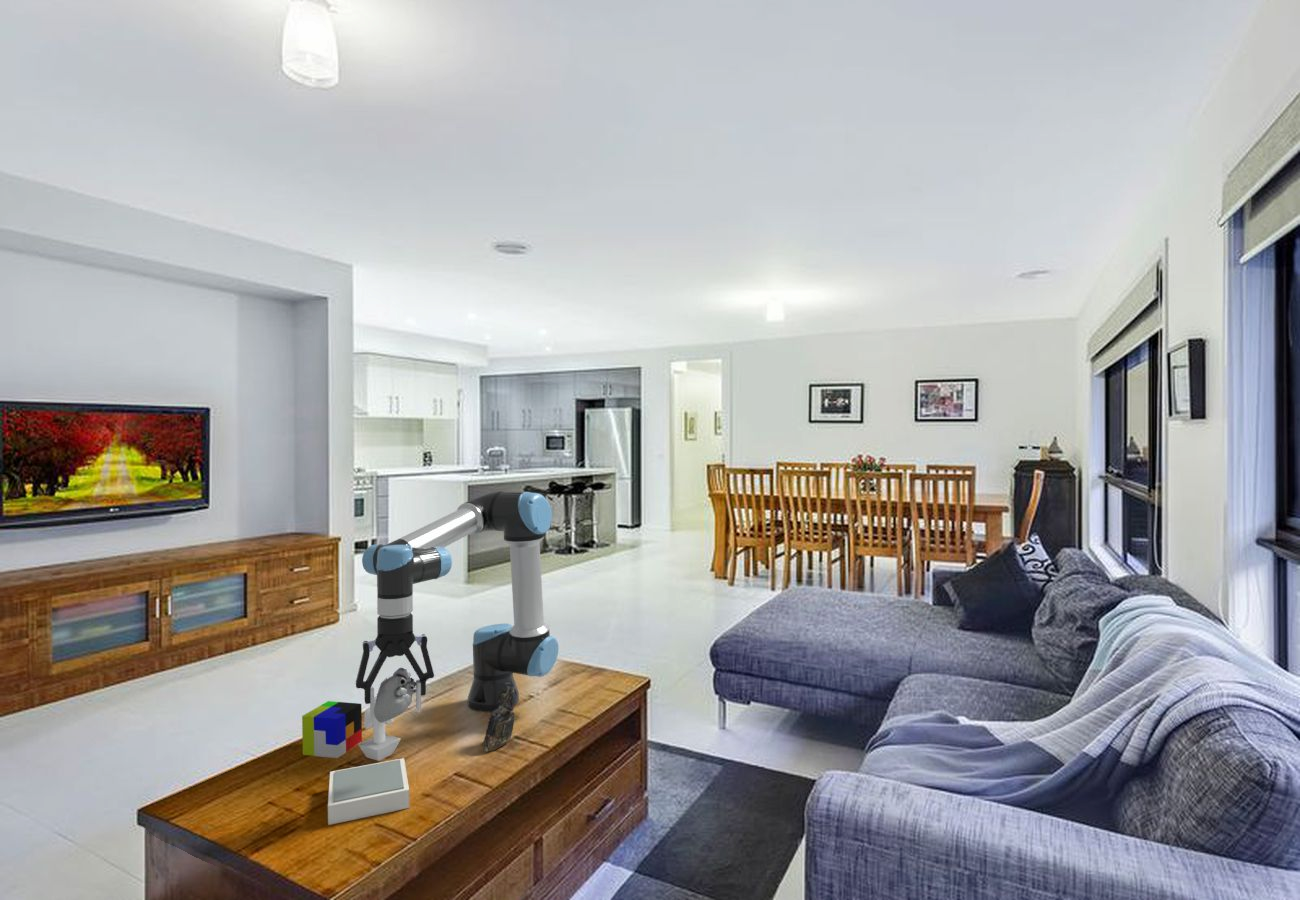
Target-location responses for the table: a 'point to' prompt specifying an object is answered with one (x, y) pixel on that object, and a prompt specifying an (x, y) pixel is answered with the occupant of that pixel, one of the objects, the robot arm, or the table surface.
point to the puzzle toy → (332, 729)
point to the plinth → (367, 791)
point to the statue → (501, 720)
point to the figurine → (378, 738)
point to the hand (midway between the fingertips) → (395, 713)
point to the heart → (394, 695)
